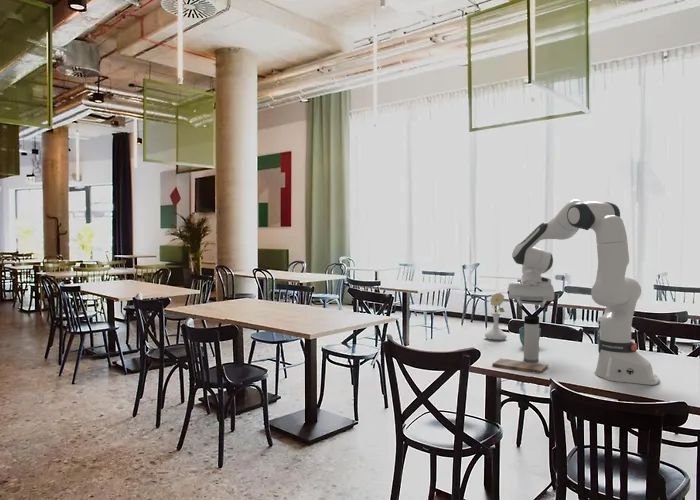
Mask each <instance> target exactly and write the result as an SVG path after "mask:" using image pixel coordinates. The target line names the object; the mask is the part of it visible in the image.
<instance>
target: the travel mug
mask: <svg viewBox="0 0 700 500" xmlns="http://www.w3.org/2000/svg"><path fill="white" fill-rule="evenodd" d="M523 322H524V324H523V325H524V326H523V327H524V346H523V362H531V363H538V362H539V359H540V358H539V357H540V355H539V353H540V349H539V348H540V345H539V344H540V339H539V328H540V316H539V315H537V314H532V315H531V314H529V315H525V316H524V321H523Z"/></svg>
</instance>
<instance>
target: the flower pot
mask: <svg viewBox="0 0 700 500" xmlns="http://www.w3.org/2000/svg"><path fill="white" fill-rule="evenodd" d="M541 332H542V328H541V327H539V340H540V337H541ZM518 333H519V341H520V343H521V345H522V347H524V326H522V327H520V328H519V329H518Z"/></svg>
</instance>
